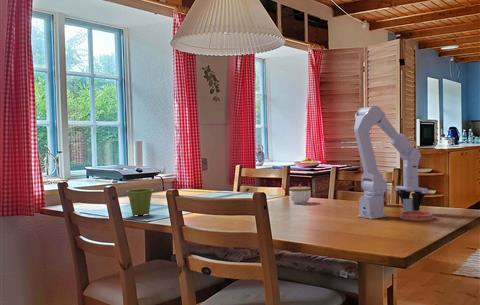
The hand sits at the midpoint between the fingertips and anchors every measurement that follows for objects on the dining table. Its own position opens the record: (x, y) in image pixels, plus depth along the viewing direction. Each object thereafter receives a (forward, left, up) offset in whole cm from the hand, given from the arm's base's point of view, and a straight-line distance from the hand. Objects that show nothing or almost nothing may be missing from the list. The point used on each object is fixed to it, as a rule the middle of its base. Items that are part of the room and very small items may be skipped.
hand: (411, 209), depth 192 cm
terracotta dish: (-8, -9, -2) cm, 12 cm away
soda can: (+7, +24, -2) cm, 25 cm away
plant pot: (-92, +71, -2) cm, 116 cm away
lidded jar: (-16, +54, -2) cm, 56 cm away
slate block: (0, 0, -2) cm, 2 cm away
